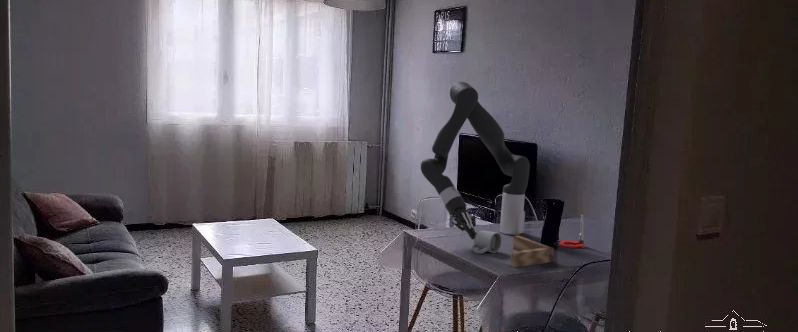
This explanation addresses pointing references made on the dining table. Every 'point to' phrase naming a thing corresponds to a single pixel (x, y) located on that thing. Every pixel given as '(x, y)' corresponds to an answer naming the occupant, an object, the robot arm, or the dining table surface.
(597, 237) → the dining table surface
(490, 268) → the dining table surface
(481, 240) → the ceramic mug
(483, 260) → the dining table surface
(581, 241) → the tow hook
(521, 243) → the corner walls
